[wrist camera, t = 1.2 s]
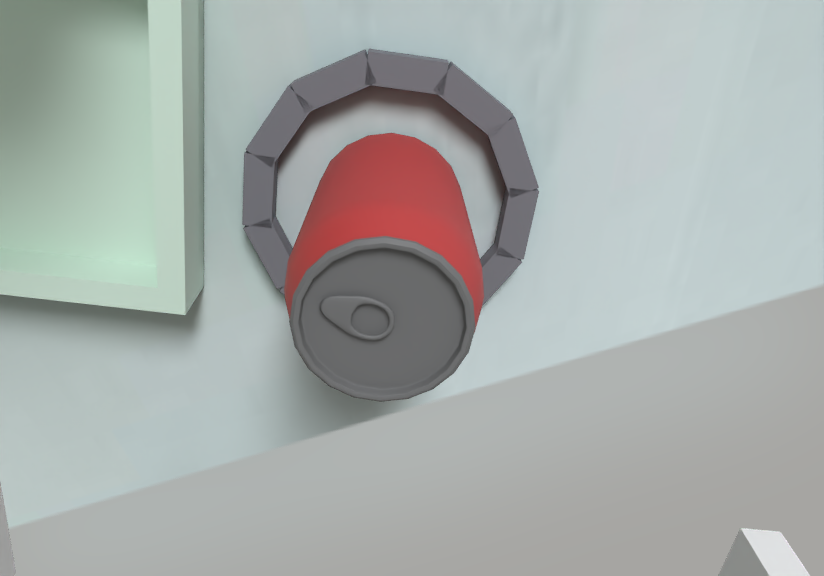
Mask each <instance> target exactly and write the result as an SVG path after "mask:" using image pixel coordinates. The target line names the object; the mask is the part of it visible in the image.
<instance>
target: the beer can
mask: <svg viewBox="0 0 824 576" xmlns="http://www.w3.org/2000/svg"><path fill="white" fill-rule="evenodd" d="M284 293H285V301H286V305H287V310H288V314H289V319H290V320H289V322H290V327H291V331H292V336H293V340H294V345H295V348H296V349H297V351H298V352H299V354H300V356H301V357H302V359H303V360H304V362H305V364H306V365H307V367H308V369H310V370H311V371H312V372H313V373H314V374H315V375H317V376H318V377H319V378H320V379H321V380H322V381H324V382H325V383H326V384H327V385H328V386H330V387H332V388H334V389H337V390H339V391H341V392H343V393H345V394H348V395H350V396H352V397H356V398H362V399H368V400H374V401H391V400H400V399H409V398H411V397H414V396H416V395H419V394H421V393H424V392H427V391H429V390H432V389H434V388H435V387H436V386H438V385H439V384H440V383H442V382H443V381H444V380H446V379H447V378H448V377H449V376H451V375H452V374H453V373H454V372H455V371H456V369H457V368H458V367H459V365H460V364H461V362H462V361H463V359H464V358H465V356H466V355H467V354H468V352H469V349H470V345H471V342H472V338H473V334H474V332H475V329H476V325H477V322H478V318H479V315H480V311H481V307H482V303H483V299H484V287H483V274H482V266H481V262H480V258H479V255H478V251H477V247H476V244H475V240H474V236H473V233H472V229H471V225H470V222H469V218H468V214H467V211H466V207H465V203H464V199H463V196H462V192H461V188H460V185H459V183H458V181H457V179H456V176H455V174H454V172H453V169H452V167H451V166H450V164H449V163H448V162H447V161H446V160H445V159H444V158H443V157H442V156H441V155H440V153H439V152H438V151H437V150H436V149H434V148H433V147H431V146H429V145H427V144H426V143H424V142H422V141H420V140H419V139H417V138H415V137H410V136H405V135H400V134H395V133H387V134H378V135H370V136H366V137H364V138H362V139H360V140H358V141H356V142H353V143H351V144H349V145H347V146H346V147H345V148H344V149H343V150H342V151H341V152H340V153H339V154H338V155H336V156H335V157H334V158H333V159H332V160H331V161H330V163H329V165H328V167H327V169H326V171H325V173H324V174H323V176H322V178H321V180H320V182H319V185H318V187H317V190H316V192H315V195H314V197H313V200H312V202H311V205H310V207H309V210H308V212H307V215H306V217H305V220H304V222H303V225H302V227H301V230H300V232H299V235H298V237H297V240H296V242H295V245H294V247H293V250H292V252H291V255H290V257H289V260H288V264H287V271H286V279H285V286H284Z"/></svg>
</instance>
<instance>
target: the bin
mask: <svg viewBox="0 0 824 576" xmlns="http://www.w3.org/2000/svg"><path fill="white" fill-rule="evenodd" d="M203 287H204V0H0V294H2V295H11V296H20V297H29V298H38V299H47V300H56V301H64V302H73V303H82V304H91V305H100V306H109V307H118V308H127V309H136V310H145V311H153V312H162V313H171V314H180V315H186V313H187V312H188V310H189V309H190V307H191V306H192V304H193V303H194V301H195V299H196V298H197V296H198V295H199V293H200V292H201V290H202V288H203Z"/></svg>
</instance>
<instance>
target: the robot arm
mask: <svg viewBox="0 0 824 576" xmlns="http://www.w3.org/2000/svg"><path fill="white" fill-rule="evenodd" d="M15 573H16V570H15V564H14V558H13V552H12V547H11V541H10V535H9V529H8V523H7V518H6V512H5V506H4V500H3V495H2V489H1V483H0V576H14V575H15ZM718 576H810V575H809V573H808V572H807V570H806V569H805V567H804V566H803V565H802V563H801V562H800V560H799V559H798V557H797V556H796V554H795V553H794V551H793V550H792V548H791V547H790V545H789V544H788V542H787V541H786V539H785V538H784V536H783V535H782V533H781V532H777V531H766V530H756V529H746V528H740V530H739V532H738V534H737V536H736V538H735V541H734V543H733V545H732V547H731V549H730V552H729V553H728V556H727V558H726V560H725V562H724V564H723V566H722V569H721V571H720V573H719V575H718Z"/></svg>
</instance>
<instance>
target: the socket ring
mask: <svg viewBox="0 0 824 576" xmlns="http://www.w3.org/2000/svg"><path fill="white" fill-rule="evenodd" d="M448 64H449V63H448V61H447V60H444V59H437V58H430V57H423V56H416V55H409V54H402V53H395V52H388V51H381V50H374V49H369V51H368V55H367V53H366V50H363V51H361V52H358V53H356V54H354V55H351V56H349V57H347V58H345V59H342V60H340V61H338V62H336V63H333V64H331V65H329V66H326V67H324V68H322V69H320V70H317V71H315V72H313V73H310V74H308V75H306V76H304V77H301V78H299V79H297V80H295V81H293V82H292V83H291V84H290V85H289V86H288V87H287V88H286V90H285V91H284V93H283V94H282V96H281V97H280V99H279V100H278V102H277V103H276V105H275V106H274V108H273V109H272V111H271V112H270V114H269V115H268V117H267V118H266V120H265V121H264V123H263V124H262V126H261V127H260V129H259V130H258V132H257V133H256V135H255V136H254V138H253V139H252V141H251V142H250V144H249V145H248V147H247V148H246V150H247V151H246V152H245V153H244V186H243V224H242V225H245V227H244V228H243V229H244V231H245V232H246V234H247V236H248V238H249V240H250V241H251V243H252V245H253V247H254V249H255V250H256V252H257V254H258V256H259V258H260V259H261V261H262V263H263V265H264V267H265V268H266V270H267V272H268V274H269V276H270V277H271V279H272V281H273V283H274V285H275V286H276V288H277V289H278V288H281V289H280V292H281V293H282V294H284V295H285V293H284V286H285V279H286V271H287V264H288V260H289V257H290V255H291V252H292V250H293V248H292V246H291V244H290V242H289V241H288V239H287V237H286V235H285V233H284V231H283V229H282V227H281V225H280V223H279V222H278V220H277V218H276V216H275V215H276V195H277V175H278V157H279V156H280V154H281V153H282V151H283V150H284V148H285V147H286V146H287V144H288V143H289V141H290V140H291V138H292V137H293V136H294V134H295V133H296V131H297V130H298V128H299V127H300V125H301V124H302V123H303V121H304V120H305V118H306V117H307V115H308V114H309V113H310V111H312V110H315V109H317V108H319V107H322V106H324V105H326V104H328V103H331V102H333V101H335V100H338V99H340V98H342V97H345V96H347V95H349V94H352V93H354V92H356V91H359V90H361V89H363V88H366V87H368V86H370V85H373V86H380V87H388V88H395V89H402V90H409V91H417V92H424V93H431V94H438V95H439V96H440V97H441V98H443V99H444V100H445V101H446V102H448V103H449V104H450V105H451V106H453V107H454V108H455V109H456V110H458V111H459V112H460V113H461V114H462V115H464V116H465V117H466V118H467V119H469V120H470V121H471V122H472V123H474V124H475V125H476V126H477V127H479V128H480V129H481V130H482V131H484V132H485V133H486V134H487V135H488V138H489V141H490V144H491V146H492V149H493V152H494V155H495V158H496V160H497V163H498V166H499V169H500V172H501V174H502V177H503V180H504V183H505V186H506V189H505V194H504V199H503V204H502V209H501V214H500V218H499V223H498V228H497V233H496V238H495V243H494V244H493V245H492V246H491V247H490V249H489V250H488V251H487V252H486V253H485V254H484V255H483V256H482V258H481V259H480V262H481V266H482V274H483V287H484V299H483V303H482V305H483V304H484V303H485V302H486V301H487V300H488V299H489V298H490V297H491V296H492V295H493V293H494V292H495V291H496V290H497V289H498V288H499V287H500V286H501V285H502V284H503V282H504V281H505V280H506V279H507V278H508V277H509V276H510V275H511V274H512V273H513V272H514V270H515V269H516V268H517V267H518V266H519V265H520V264H521V263H522V262H521V259H524V255H525V251H526V246H527V242H528V237H529V233H530V229H531V224H532V220H533V215H534V211H535V207H536V202H537V198H538V193H539V191H538V189H537V188H539V187H538V184H537V181H536V178H535V175H534V172H533V169H532V166H531V163H530V160H529V157H528V154H527V151H526V148H525V145H524V142H523V139H522V136H521V133H520V131H519V128H518V125H517V122H516V119H515V117H514V116H513V114H512V113H511V111H510V110H509V109H507V108H506V107H505V106H504V105H503V104H501V103H500V102H499V101H498V100H497V99H495V98H494V97H493V96H492V95H491V94H489V93H488V92H487V91H486V90H485V89H483V88H482V87H481V86H480V85H479V84H477V83H476V82H475V81H474V80H473V79H471V78H470V77H469V76H468V75H466V74H465V73H464V72H463V71H462V70H460V69H459V68H458V67H457V66H456V65H454V64H453V63H452V62H450V64H449V65H448Z"/></svg>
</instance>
